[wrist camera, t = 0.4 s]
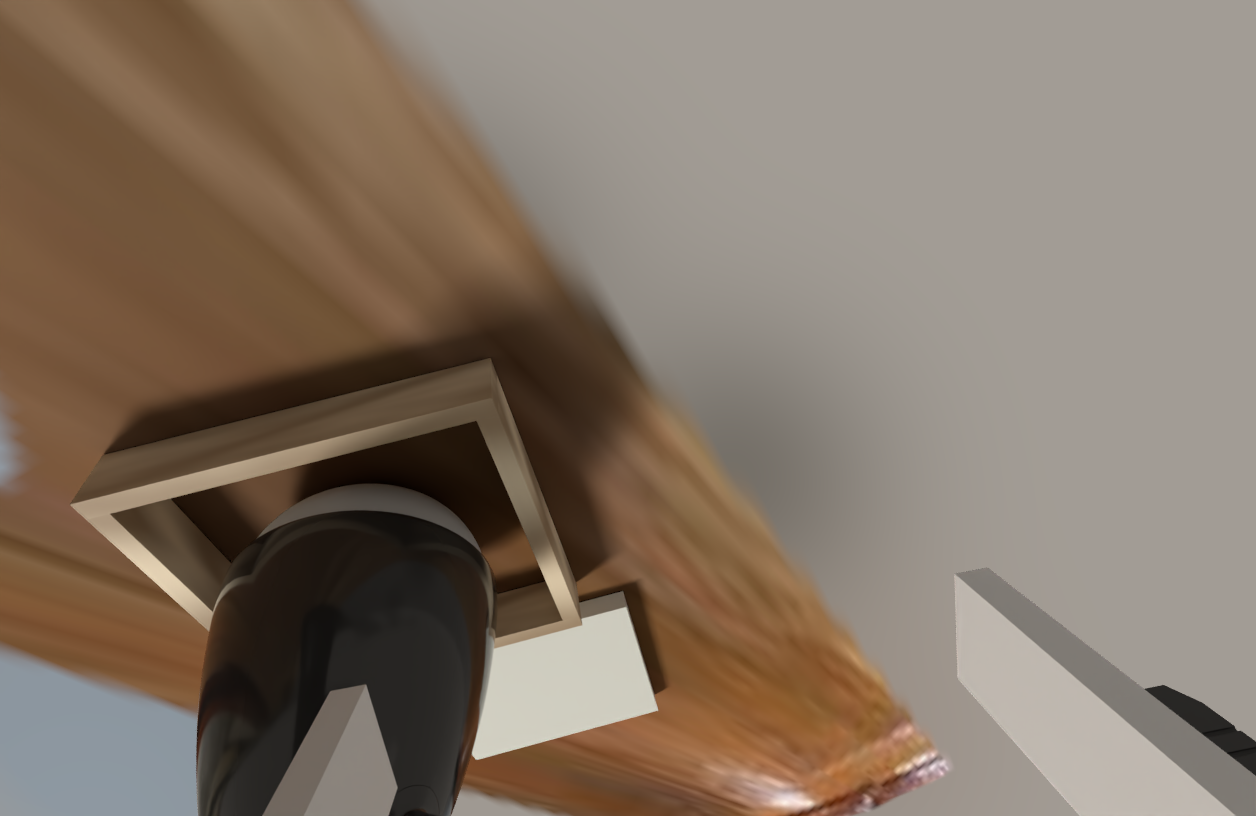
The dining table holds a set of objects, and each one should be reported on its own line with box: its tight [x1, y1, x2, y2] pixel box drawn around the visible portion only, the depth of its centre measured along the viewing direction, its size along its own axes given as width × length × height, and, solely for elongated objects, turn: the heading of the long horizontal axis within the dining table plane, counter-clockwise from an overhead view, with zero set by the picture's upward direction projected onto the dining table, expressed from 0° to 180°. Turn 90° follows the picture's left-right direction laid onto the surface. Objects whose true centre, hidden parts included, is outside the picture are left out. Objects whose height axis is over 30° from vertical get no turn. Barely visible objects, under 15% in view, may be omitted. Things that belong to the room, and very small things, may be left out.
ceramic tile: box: [472, 591, 658, 760], centre depth 38 cm, size 12×12×1 cm
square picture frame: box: [70, 358, 582, 649], centre depth 28 cm, size 15×15×2 cm
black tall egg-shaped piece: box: [196, 484, 498, 816], centre depth 23 cm, size 10×10×15 cm
